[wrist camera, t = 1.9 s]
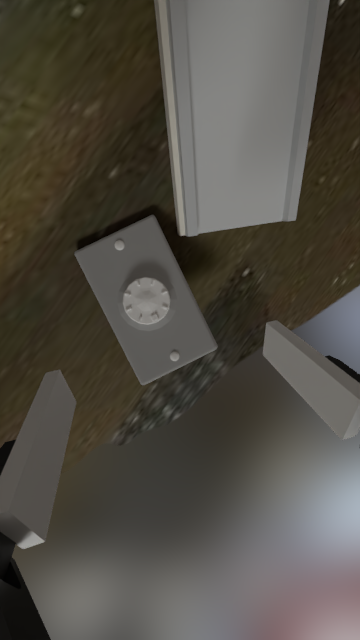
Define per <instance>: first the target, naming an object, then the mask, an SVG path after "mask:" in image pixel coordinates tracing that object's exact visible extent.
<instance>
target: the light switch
mask: <svg viewBox="0 0 360 640" xmlns="http://www.w3.org/2000/svg"><path fill="white" fill-rule="evenodd" d="M74 253H75V257H76V258H77V260H78V262H79V264H80V266H81V268H82V270H83V272H84V274H85V276H86V278H87V280H88V282H89V284H90V286H91V288H92V290H93V292H94V294H95V296H96V298H97V300H98V302H99V303H100V305H101V307H102V309H103V311H104V313H105V315H106V317H107V319H108V321H109V323H110V325H111V327H112V329H113V331H114V333H115V335H116V337H117V339H118V341H119V343H120V345H121V347H122V349H123V350H124V352H125V354H126V356H127V358H128V360H129V362H130V364H131V366H132V368H133V370H134V372H135V374H136V376H137V378H138V380H139V382H140V384H141V385H145V384H147V383H149V382H151V381H153V380H155V379H157V378H159V377H161V376H163V375H165V374H167V373H169V372H171V371H174V370H176V369H178V368H180V367H182V366H184V365H186V364H188V363H190V362H192V361H194V360H196V359H198V358H200V357H202V356H204V355H206V354H208V353H210V352H212V351H214V350H216V349H217V344H216V342H215V340H214V338H213V335H212V333H211V331H210V329H209V327H208V325H207V323H206V321H205V319H204V317H203V315H202V313H201V311H200V309H199V306H198V304H197V302H196V300H195V298H194V296H193V294H192V292H191V290H190V288H189V286H188V284H187V282H186V280H185V277H184V275H183V273H182V271H181V269H180V267H179V265H178V263H177V261H176V259H175V257H174V255H173V253H172V251H171V248H170V246H169V244H168V242H167V240H166V238H165V236H164V234H163V232H162V230H161V228H160V226H159V224H158V222H157V219H156V217H155V216H154V215H150V216H148V217H146V218H144V219H142V220H140V221H138V222H136V223H134V224H132V225H129V226H127V227H125V228H123V229H121V230H119V231H117V232H115V233H113V234H111V235H109V236H106V237H104V238H102V239H100V240H98V241H96V242H94V243H92V244H90V245H88V246H86V247H84V248H81V249H79V250H77V251H75V252H74ZM163 284H164V285H163ZM168 291H169V292H168ZM169 295H170V296H169ZM170 299H171V301H170ZM169 307H170V308H169ZM163 317H164V318H163Z"/></svg>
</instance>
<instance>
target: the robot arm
mask: <svg viewBox="0 0 360 640" xmlns="http://www.w3.org/2000/svg"><path fill="white" fill-rule="evenodd" d="M263 356H264V357H265V358H266V359H267V360H268V361H269V362H270V363H271V364H272V365H273V366H274V367H275V369H276V370H277V371H278V372H279V373H280V374H281V375H282V376H283V377H284V378H285V379H286V380H287V381H288V383H289V384H290V385H291V386H292V387H293V388H294V389H295V390H296V391H297V392H298V393H299V394H300V395H301V397H302V398H303V399H304V400H305V401H306V402H307V403H308V404H309V405H310V406H311V407H312V408H313V409H314V411H315V412H316V413H317V414H318V415H319V416H320V417H321V418H322V419H323V420H324V421H325V422H326V423H327V425H328V426H329V427H330V428H331V429H332V430H333V431H334V432H335V433H336V434H337V435H338V436H339V437H340V439H341V440H345V439H348V438H350V437H353V436H356V434H357V432H358V430H359V429H360V374H357V372H355V371H354V370H353V369H351V368H349V366H347V365H346V364H344V363H343V362H342V361H340V360H338V359H336V358H333V357H331V356H325V357H324V356H323V355H322V354H320V353H319V352H318V351H316V350H315V349H314V348H313V347H311V346H310V345H308V344H307V343H306V342H305V341H303V340H302V339H301V338H299V337H298V336H297V335H295V334H294V333H293V332H291V331H290V330H289V329H287V328H286V327H285V326H283V325H282V324H281V323H280V322H278V321H277V320H276V321H272V322H267V323H266V331H265V340H264V348H263ZM75 405H76V400H75V398H74V396H73V394H72V392H71V391H70V389H69V387H68V385H67V383H66V381H65V379H64V377H63V375H62V373H61V371H60V370H56V371H52V372H47V373H45V376H44V378H43V380H42V382H41V385H40V387H39V389H38V391H37V394H36V396H35V398H34V401H33V403H32V405H31V407H30V410H29V412H28V414H27V416H26V419H25V421H24V423H23V425H22V428H21V430H20V432H19V435H18V437H17V439H16V440H13V441H9V442H5V443H4V445H3V446H2V447H1V448H0V640H51V639H50V637H49V635H48V632H47V630H46V628H45V626H44V624H43V621H42V619H41V617H40V615H39V613H38V610H37V608H36V606H35V604H34V602H33V599H32V597H31V595H30V593H29V590H28V588H27V586H26V584H25V582H24V579H23V577H22V575H21V573H20V571H19V568H18V566H17V564H16V562H15V560H14V559H13V558H12V553H13V551H14V547H15V544H16V545H18V546H19V547H21V548H22V549H25V548H28V547H31V546H34V545H37V544H39V543H42V542H45V539H46V535H47V530H48V526H49V521H50V517H51V513H52V508H53V504H54V499H55V495H56V490H57V486H58V481H59V476H60V472H61V468H62V463H63V459H64V454H65V450H66V446H67V441H68V437H69V432H70V428H71V423H72V419H73V414H74V410H75Z"/></svg>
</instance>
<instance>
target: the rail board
mask: <svg viewBox="0 0 360 640" xmlns="http://www.w3.org/2000/svg"><path fill="white" fill-rule="evenodd" d="M329 1H330V0H154V4H155V14H156V23H157V33H158V43H159V53H160V63H161V73H162V83H163V93H164V103H165V113H166V123H167V133H168V143H169V152H170V162H171V172H172V182H173V192H174V202H175V212H176V222H177V232H178V235H180V236H184V235H186V236H188V237H189V236H196V235H198V234H199V233H205V232H212V231H218V230H225V229H232V228H238V227H245V226H251V225H258V224H265V223H271V222H278V221H294V220H296V215H297V209H298V202H299V196H300V189H301V183H302V176H303V170H304V163H305V157H306V150H307V144H308V137H309V131H310V124H311V118H312V111H313V105H314V98H315V92H316V85H317V79H318V72H319V66H320V59H321V53H322V46H323V40H324V33H325V27H326V20H327V14H328V7H329Z"/></svg>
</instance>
